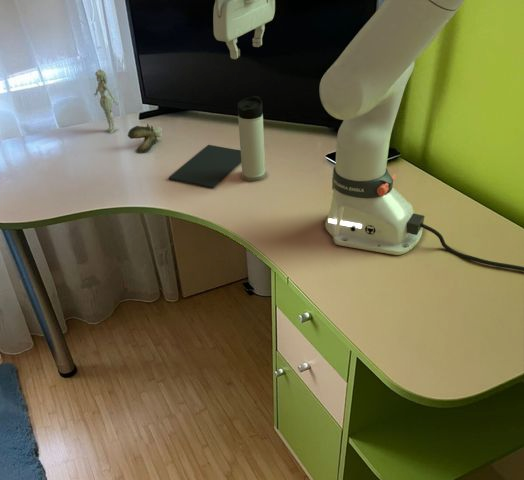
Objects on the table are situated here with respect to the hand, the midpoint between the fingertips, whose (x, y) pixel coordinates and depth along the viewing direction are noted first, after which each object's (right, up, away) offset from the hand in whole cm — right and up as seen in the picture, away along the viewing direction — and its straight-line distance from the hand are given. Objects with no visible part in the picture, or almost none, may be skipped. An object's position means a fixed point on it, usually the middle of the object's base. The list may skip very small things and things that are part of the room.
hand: (246, 52), depth 130 cm
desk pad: (-11, -18, +27) cm, 34 cm away
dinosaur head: (-31, -8, +39) cm, 50 cm away
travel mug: (+1, -22, +22) cm, 31 cm away
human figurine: (-44, +1, +48) cm, 65 cm away
